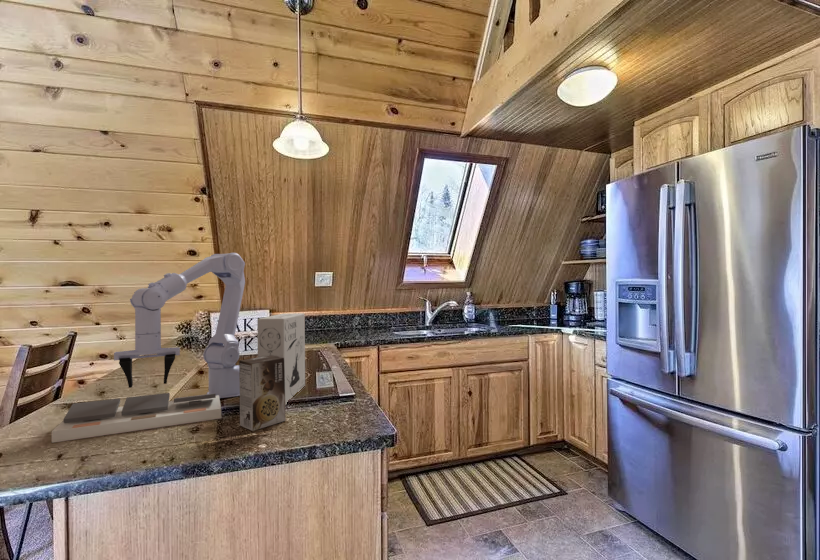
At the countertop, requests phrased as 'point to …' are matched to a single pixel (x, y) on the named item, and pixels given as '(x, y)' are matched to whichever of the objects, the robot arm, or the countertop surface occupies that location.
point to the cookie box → (262, 392)
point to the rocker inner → (194, 398)
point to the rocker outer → (92, 410)
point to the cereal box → (285, 347)
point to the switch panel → (140, 420)
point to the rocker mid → (145, 404)
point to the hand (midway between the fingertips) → (148, 384)
